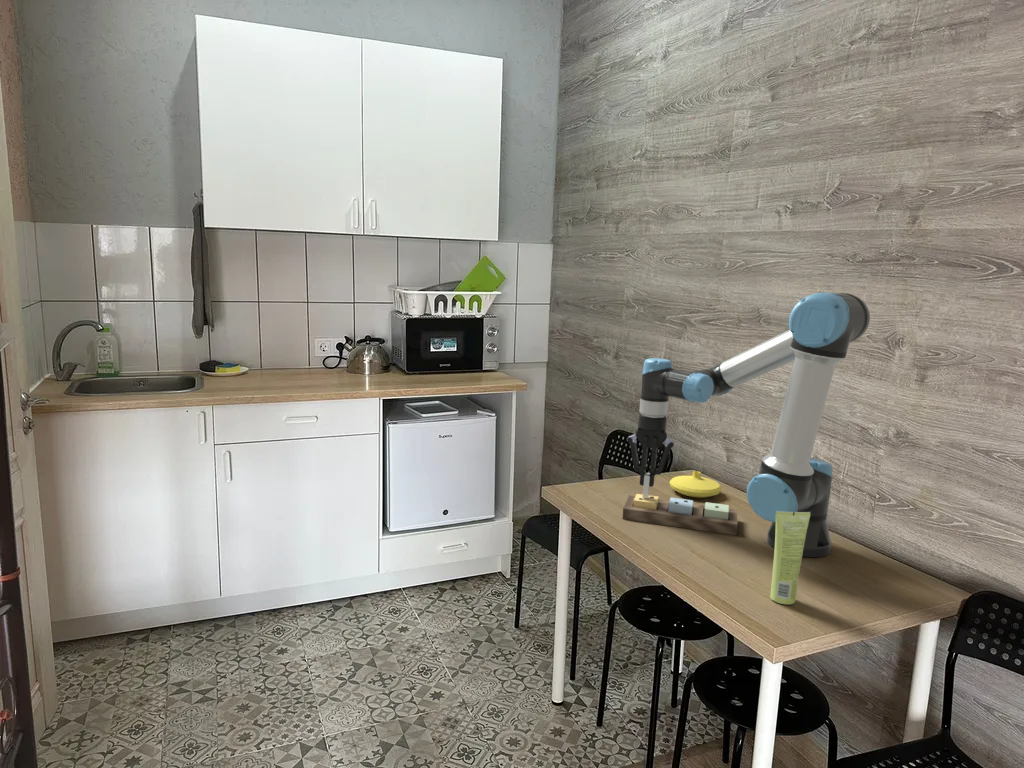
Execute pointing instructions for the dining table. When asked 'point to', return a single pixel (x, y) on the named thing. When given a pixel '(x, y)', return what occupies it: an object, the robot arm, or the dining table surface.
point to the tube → (788, 554)
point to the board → (681, 517)
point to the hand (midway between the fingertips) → (645, 496)
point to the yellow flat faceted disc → (695, 485)
